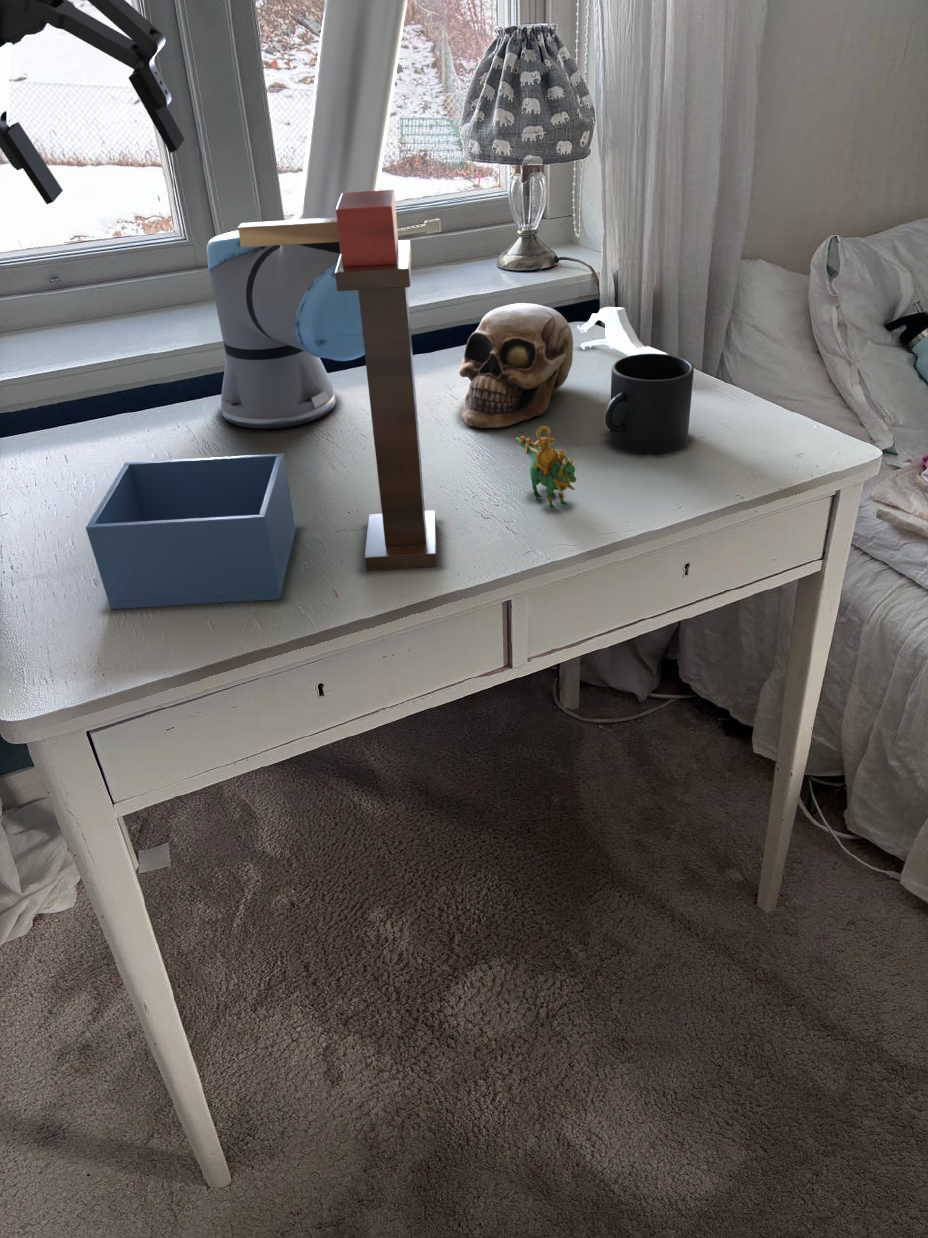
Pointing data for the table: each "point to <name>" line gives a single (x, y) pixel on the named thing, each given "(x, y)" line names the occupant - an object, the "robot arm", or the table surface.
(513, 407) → the tan skull model
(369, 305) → the stand
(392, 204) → the mallet
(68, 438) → the table surface
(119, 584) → the tub
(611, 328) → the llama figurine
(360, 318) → the robot arm
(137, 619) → the table surface
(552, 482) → the figurine
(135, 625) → the table surface
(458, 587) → the table surface
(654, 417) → the mug
